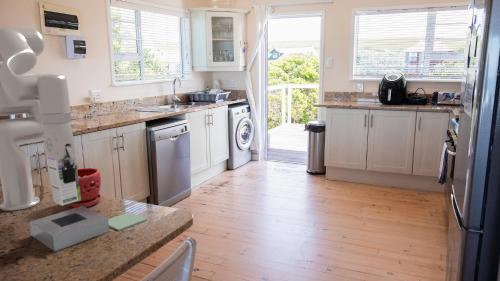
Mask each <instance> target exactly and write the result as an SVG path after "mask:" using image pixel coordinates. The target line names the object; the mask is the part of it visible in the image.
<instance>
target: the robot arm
mask: <svg viewBox="0 0 500 281" xmlns="http://www.w3.org/2000/svg"><path fill="white" fill-rule="evenodd" d="M44 49H45V40H44V37H43V35H42V34H41V33H40V32H39V31H38V30H36V29H35V28H30V27H29V28H26V27H11V26H6V27H4V26H3V27H0V62H2V63H0V117H1V116H4V117H5V116H6V117H7V116H15V115H26V116H27V117H15V118H7V119H0V182H1V189H2V196H3V202H1V203H0V210H2V211H6V212H7V211H10V212H11V211H13V212H14V211H19V210H25V209H29V208H32V207H34V206H36V205H38V204H39V203H40V197H38V196H35V191H34V185H33V178H32V176H33V175H32V169H31V164H30V163H31V162H30V157H29V155H28V153H27V152H26V151H25V150H23V149H22V147H20V146H22V145H27V144H34V143H38V142H43V148H44V155H45V157H46V158H47V156H48V157H49V158H52V159H55V160H57V161H60V160H61V162H62V166H63V169H64V170H62V174H63V182H64V183H65V184H66V183H70V182H74V181H75V180H76V179H75V171H74V168H75V166H74V164H75V160H76V161H77V157H76V147H75V140H74V139H75V138H74V134H73V130H72V126H71V124H73V121H72V112H71V104H70V103H71V102H70V96H69V95H70V94H69V86H68V80H67V77H66V76H64V74H63V75H62V74H53V73H46V74H45V73H44V74H43V73H42V74H41V73H40V74H39V73H38V74H36V73H35V74H27V73H28V72H30V71H31V70H33V69H34V67H36V65H37V62H38V60H37V59H38V58H37V57H38V56H40V55H42V53H43V52H44ZM25 73H26V74H25ZM66 156H68V157H69V158H64V157H66ZM68 160H69V161H68ZM65 161H67V163H65Z"/></svg>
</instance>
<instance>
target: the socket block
mask: <svg viewBox="0 0 500 281" xmlns="http://www.w3.org/2000/svg"><path fill="white" fill-rule="evenodd" d="M108 219H109V217H107V216H105V215H102V214H101V213H99V212H97V211H94V210H92V209H90V208H89V207H83V206H81V207H77V208H75V207H73V208H71V209H68V210H64V211H61V212H58V213H54V214H50V215H48V216H44V217H41V218H37V219H33V220H31V221H29V228H30V235H31V237H32V238H34V239H35V240H37V241H39V242H40V243H41V244H43V245H44V246H46V247H47V248H48V249H50V250H52V251H53V252H58V251H62V250H64V249H66V248H67V249H68V248H69V247H72V246H75V245H76V244H80V243H83V242H85V241H88V240H91V239H93V238H96V237H98V236H101V235H104V234H107V233H109V232H110V227H109V224H108Z"/></svg>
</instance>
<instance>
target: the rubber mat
mask: <svg viewBox="0 0 500 281" xmlns="http://www.w3.org/2000/svg"><path fill="white" fill-rule="evenodd" d="M146 221H148V220H147V218H145V217H142V216H140V215H137V214H135V213H132V212H130V211H129V212H126V213H123V214H120V215H116V216H114V217H111V218H108V224H109V228H111V229H114V230H115V231H118V232H121V231H123V230H126V229H128V228H131V227H133V226H136V225H139V224H142V223H144V222H146Z"/></svg>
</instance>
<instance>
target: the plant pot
mask: <svg viewBox="0 0 500 281" xmlns="http://www.w3.org/2000/svg"><path fill="white" fill-rule="evenodd" d="M77 172H78V180H79V188H80V195H81V200H80V201H76V202H73V203H69V204H67V205H68V206H69V207H72V208H77V207H81V206H83V207H86V208H89V207H91V206H94V205H96V204H98V203H99V202H100V201H101V199H102V195H101V194H100V191H101V187H102V186H101V183H102V182H101V181H102V180H101V179H102V178H101V172H100V170H99V169H98V168H95V167H83V168H82V167H81V168H77Z"/></svg>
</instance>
